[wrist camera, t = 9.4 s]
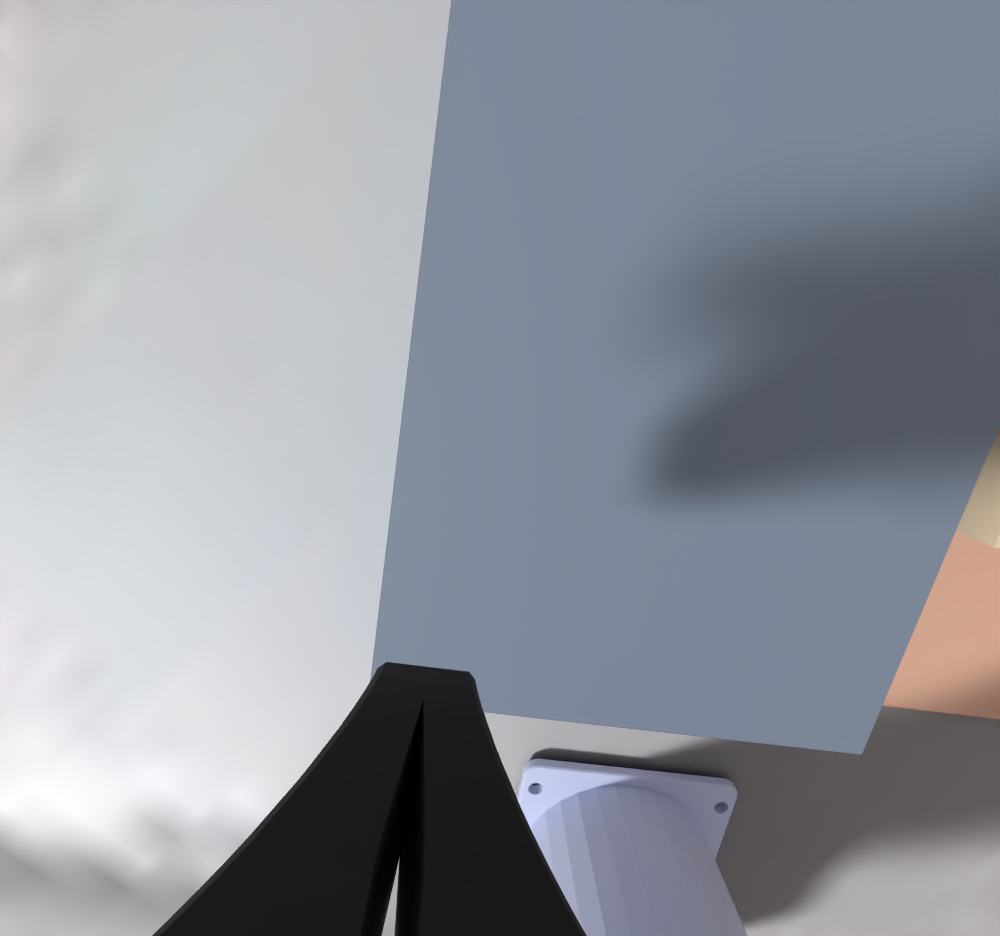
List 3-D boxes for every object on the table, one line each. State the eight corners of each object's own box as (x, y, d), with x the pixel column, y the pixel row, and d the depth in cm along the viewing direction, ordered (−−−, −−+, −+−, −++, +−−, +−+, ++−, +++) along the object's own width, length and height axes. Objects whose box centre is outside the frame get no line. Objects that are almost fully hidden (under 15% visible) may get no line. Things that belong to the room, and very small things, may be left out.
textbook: (804, 689, 19) (862, 754, 17) (385, 638, 18) (368, 699, 15) (1044, 44, 14) (1189, -26, 11) (476, -89, 13) (475, -203, 10)
